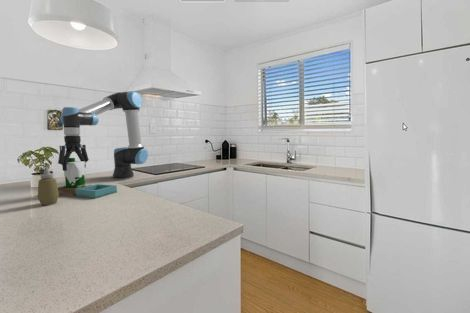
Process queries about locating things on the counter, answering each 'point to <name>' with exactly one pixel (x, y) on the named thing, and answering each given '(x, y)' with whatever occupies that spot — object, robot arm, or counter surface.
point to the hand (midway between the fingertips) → (75, 174)
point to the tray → (96, 191)
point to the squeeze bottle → (47, 188)
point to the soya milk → (75, 174)
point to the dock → (68, 191)
